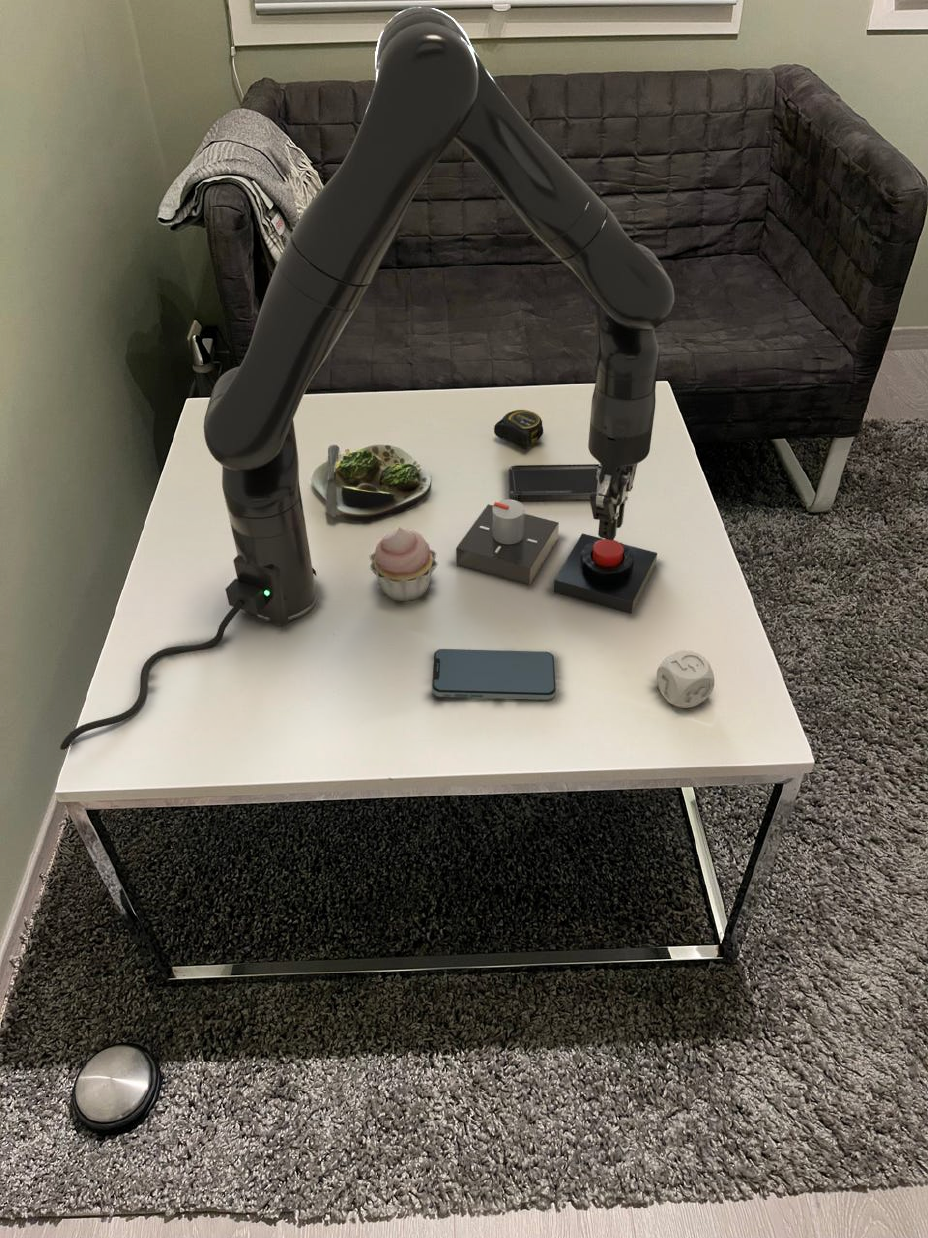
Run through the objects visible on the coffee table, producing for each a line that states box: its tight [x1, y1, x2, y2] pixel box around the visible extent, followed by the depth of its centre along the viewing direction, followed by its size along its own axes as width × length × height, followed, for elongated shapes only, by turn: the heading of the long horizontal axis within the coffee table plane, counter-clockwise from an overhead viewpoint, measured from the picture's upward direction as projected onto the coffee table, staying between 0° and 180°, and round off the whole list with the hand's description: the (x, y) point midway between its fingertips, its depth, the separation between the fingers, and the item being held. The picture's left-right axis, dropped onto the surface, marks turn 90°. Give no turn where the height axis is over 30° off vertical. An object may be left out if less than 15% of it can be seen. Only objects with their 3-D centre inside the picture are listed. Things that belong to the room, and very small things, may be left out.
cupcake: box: [368, 527, 439, 602], centre depth 135 cm, size 9×9×10 cm
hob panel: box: [455, 503, 560, 586], centre depth 142 cm, size 11×11×3 cm
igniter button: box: [593, 538, 623, 567], centre depth 136 cm, size 4×4×2 cm
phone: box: [508, 463, 601, 502], centre depth 154 cm, size 8×1×15 cm
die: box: [656, 649, 715, 709], centre depth 122 cm, size 5×5×5 cm
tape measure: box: [493, 409, 544, 450], centre depth 163 cm, size 7×7×4 cm
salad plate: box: [310, 443, 433, 522], centre depth 154 cm, size 19×18×5 cm
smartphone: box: [431, 648, 557, 701], centre depth 125 cm, size 8×2×15 cm
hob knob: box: [492, 498, 526, 545], centre depth 140 cm, size 4×4×5 cm
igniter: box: [553, 533, 658, 615], centre depth 138 cm, size 11×11×4 cm
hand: (610, 530), depth 133 cm, fingers closed
